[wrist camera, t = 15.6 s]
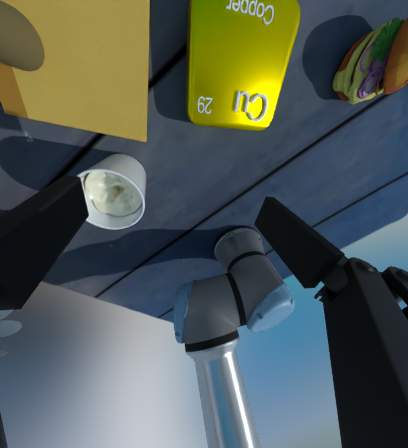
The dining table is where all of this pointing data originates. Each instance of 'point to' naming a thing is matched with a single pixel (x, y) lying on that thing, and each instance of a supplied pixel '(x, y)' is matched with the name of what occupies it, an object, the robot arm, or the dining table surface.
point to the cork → (19, 40)
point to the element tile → (237, 60)
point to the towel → (84, 66)
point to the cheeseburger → (375, 64)
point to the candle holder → (114, 191)
